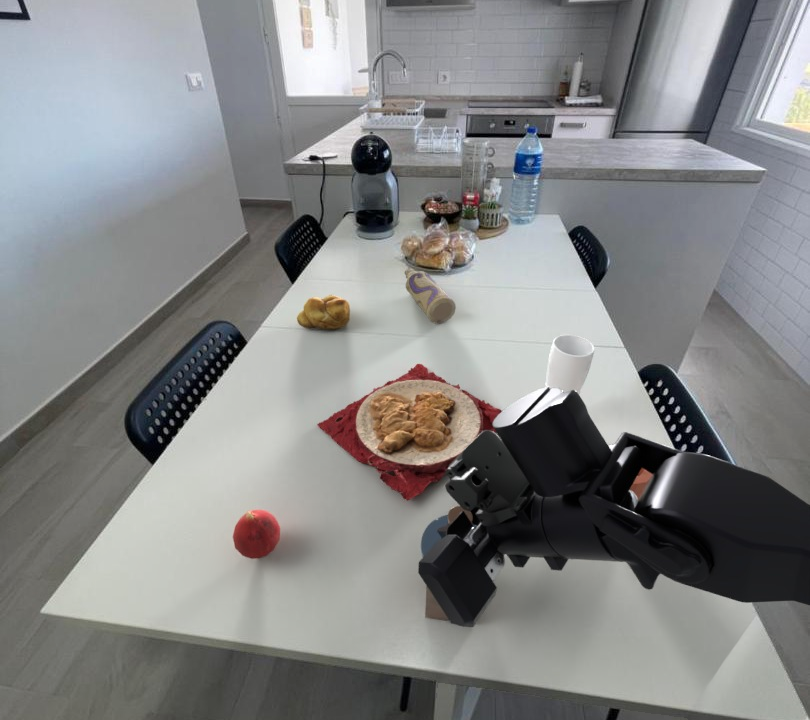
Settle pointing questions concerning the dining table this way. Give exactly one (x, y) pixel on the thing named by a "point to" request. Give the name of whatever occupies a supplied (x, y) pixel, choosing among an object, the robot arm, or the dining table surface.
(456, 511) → the lid
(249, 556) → the onion
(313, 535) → the dining table surface
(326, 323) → the bread roll
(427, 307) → the decorative bottle
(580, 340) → the drinking glass
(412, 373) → the plate with food
